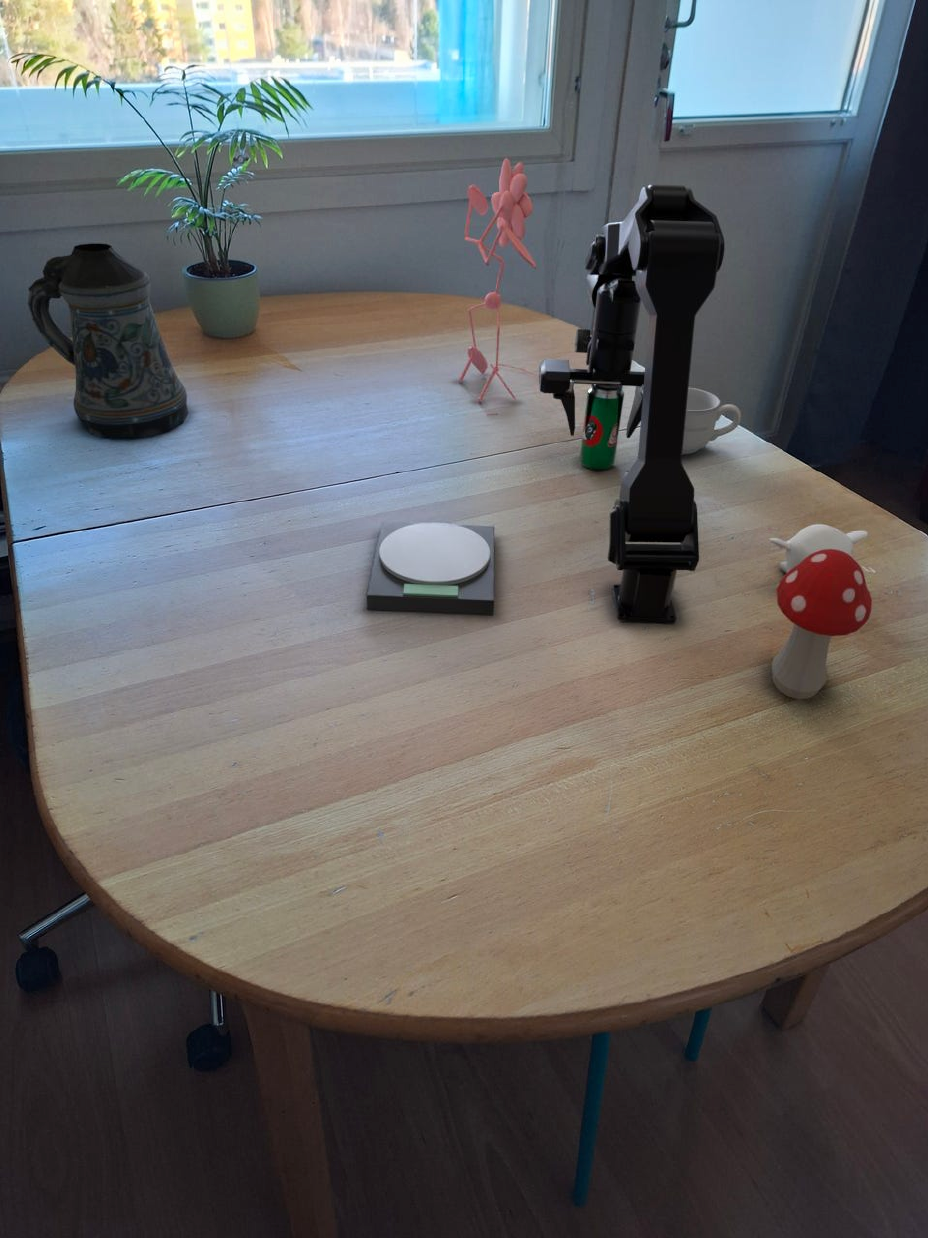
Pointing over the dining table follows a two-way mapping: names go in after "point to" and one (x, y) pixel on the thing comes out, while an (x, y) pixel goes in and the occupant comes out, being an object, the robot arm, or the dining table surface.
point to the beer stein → (110, 344)
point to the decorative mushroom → (818, 617)
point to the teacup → (705, 419)
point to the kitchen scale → (433, 569)
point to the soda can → (601, 426)
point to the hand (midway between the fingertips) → (600, 435)
